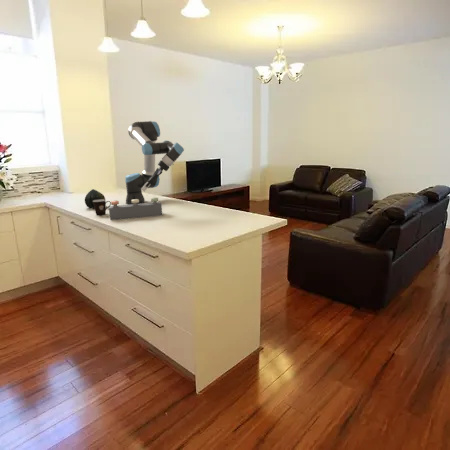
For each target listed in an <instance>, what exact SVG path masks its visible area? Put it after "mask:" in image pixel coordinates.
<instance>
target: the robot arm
mask: <svg viewBox="0 0 450 450" xmlns="http://www.w3.org/2000/svg"><path fill="white" fill-rule="evenodd" d="M128 135H129V137H130V138H131V139H132V140H135V142H137V143H138V144H139V146H140V147H141V152H142V154H143V156H144V158H143V160H144V161H143V163H144V164H143V166H144V167H143V168H144V170H142V173H141V174H140V173H139V172H138V173H137V172H136V173H130V174H128V175H125V180H124V181H125V186H126V198H125V205H131V204H134V203H132V202H131V200H133V199H139V203H137V204H143V203H146V199H145V197H144V195H143V192H146V191H147V190H148V189H153V188H157V187H158V186H159V185H160V176H161V175H162V173H163V171H165V172H168V170H169V169H170V167H172V166H173V165H174V163H175V162H176V161H177V159H178V158H179V157H180V156H181V155H182V154H183V153H184V151H185V148H184V147H183V146H182V145H181V144H179V143H178V142H175V143H173V142H172V141H170V140H164V141H162V142H157V140H158V138H159V137H160V136H161V129H160V126H159V123H158V122H157V121H152V120H149V121H145V120H144V121H136V122H135V121H134V122H132V123H131V124H130V126H128ZM156 155H163V157H162V158H161V160H159V161H158V163H157V166H159V167H157V168H156Z"/></svg>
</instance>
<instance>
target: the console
mask: <svg viewBox="0 0 450 450" xmlns="http://www.w3.org/2000/svg"><path fill="white" fill-rule="evenodd" d="M108 211H109V219H110V221H115V220H116V221H117V220H128V218H129V219H136V218H137V219H138V218H139V219H140V218H148V217H149V218H150V217H158V216H159V217H161V216H163V207H162V202H161V201H157V204H153V202H144V203H140V204H137V205H136V206H134V204H121V205H119V204H118V205H117V207H114V206H113V205H110V207H109V208H108Z"/></svg>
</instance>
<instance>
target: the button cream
mask: <svg viewBox="0 0 450 450" xmlns="http://www.w3.org/2000/svg"><path fill="white" fill-rule="evenodd" d="M131 202H132V203H134V206H136V205H137V203H139V199H133V200H131Z"/></svg>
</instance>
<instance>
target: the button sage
mask: <svg viewBox="0 0 450 450" xmlns="http://www.w3.org/2000/svg"><path fill="white" fill-rule="evenodd" d="M150 201H151V203H153V204H157V202H159V197H152V198H150Z"/></svg>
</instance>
